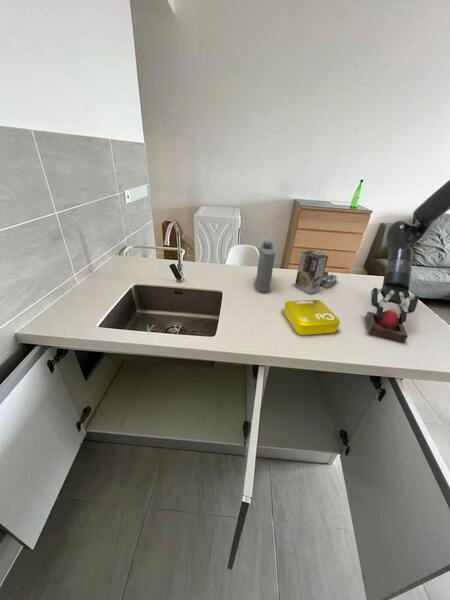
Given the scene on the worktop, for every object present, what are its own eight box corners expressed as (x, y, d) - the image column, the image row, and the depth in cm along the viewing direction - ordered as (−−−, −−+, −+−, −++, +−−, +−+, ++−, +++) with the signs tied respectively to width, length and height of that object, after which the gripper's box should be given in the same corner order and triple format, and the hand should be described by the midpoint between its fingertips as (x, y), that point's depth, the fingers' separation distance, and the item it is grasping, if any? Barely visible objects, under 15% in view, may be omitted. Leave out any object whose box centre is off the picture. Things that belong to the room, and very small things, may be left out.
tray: (397, 325, 88) (400, 318, 86) (403, 343, 79) (407, 336, 78) (365, 317, 91) (367, 311, 89) (368, 334, 82) (371, 327, 81)
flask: (255, 277, 116) (261, 235, 106) (268, 278, 116) (274, 237, 105) (255, 292, 104) (261, 247, 93) (269, 293, 103) (276, 248, 93)
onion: (376, 331, 83) (384, 311, 79) (373, 321, 88) (381, 303, 84) (395, 335, 82) (405, 315, 78) (392, 325, 86) (401, 306, 82)
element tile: (317, 308, 95) (320, 298, 92) (339, 332, 82) (343, 321, 80) (281, 310, 92) (283, 299, 90) (297, 336, 80) (301, 324, 77)
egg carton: (322, 276, 121) (324, 269, 118) (337, 281, 116) (339, 274, 114) (313, 283, 114) (315, 275, 111) (328, 289, 109) (331, 280, 107)
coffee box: (319, 290, 108) (329, 256, 99) (309, 294, 104) (319, 259, 96) (303, 282, 114) (311, 249, 106) (293, 285, 111) (301, 251, 102)
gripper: (378, 267, 83) (370, 313, 80) (427, 275, 79) (420, 324, 76) (370, 275, 90) (363, 318, 87) (415, 282, 86) (409, 328, 83)
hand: (390, 321), depth 81 cm, fingers closed on onion, 5 cm apart
